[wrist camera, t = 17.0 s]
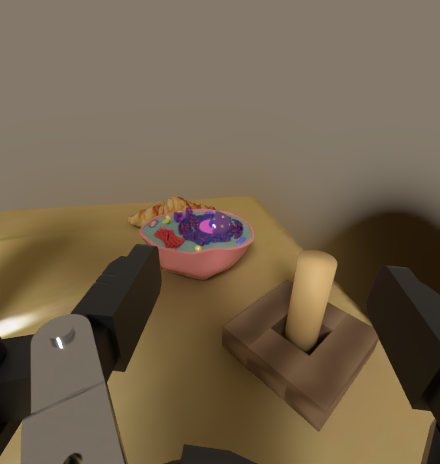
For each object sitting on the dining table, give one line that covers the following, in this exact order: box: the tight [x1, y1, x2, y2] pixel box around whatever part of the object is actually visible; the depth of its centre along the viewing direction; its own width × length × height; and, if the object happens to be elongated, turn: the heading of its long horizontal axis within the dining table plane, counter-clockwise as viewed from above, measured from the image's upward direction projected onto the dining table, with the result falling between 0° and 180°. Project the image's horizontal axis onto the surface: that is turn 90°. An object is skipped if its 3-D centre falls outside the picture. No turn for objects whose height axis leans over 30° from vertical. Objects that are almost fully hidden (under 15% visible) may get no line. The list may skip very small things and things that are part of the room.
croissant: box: [128, 197, 215, 227], centre depth 67 cm, size 21×10×8 cm, turn 106°
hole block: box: [222, 280, 379, 431], centre depth 35 cm, size 14×14×4 cm
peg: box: [284, 250, 337, 356], centre depth 33 cm, size 4×4×14 cm
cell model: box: [139, 208, 255, 280], centre depth 50 cm, size 17×20×11 cm
